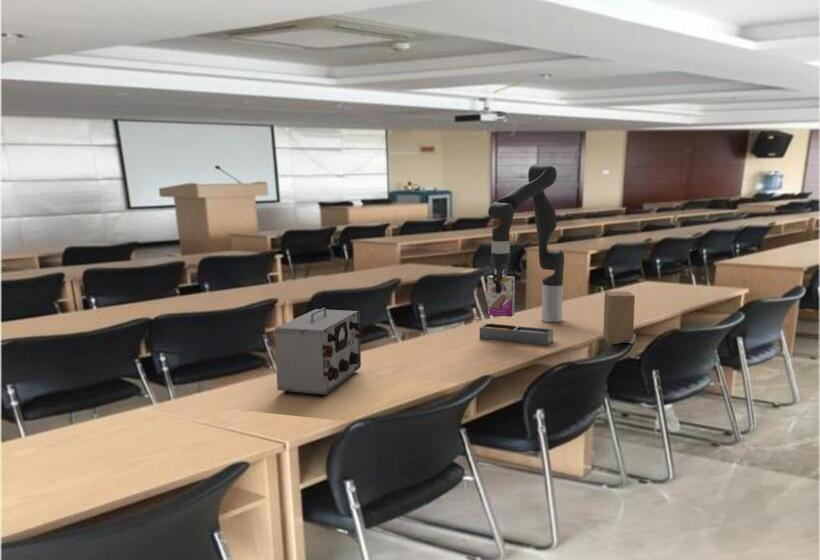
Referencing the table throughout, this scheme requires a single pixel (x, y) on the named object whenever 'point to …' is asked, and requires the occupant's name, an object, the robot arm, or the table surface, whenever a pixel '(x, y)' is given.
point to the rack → (516, 334)
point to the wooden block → (618, 317)
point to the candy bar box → (500, 297)
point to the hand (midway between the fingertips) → (500, 291)
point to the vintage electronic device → (317, 351)
